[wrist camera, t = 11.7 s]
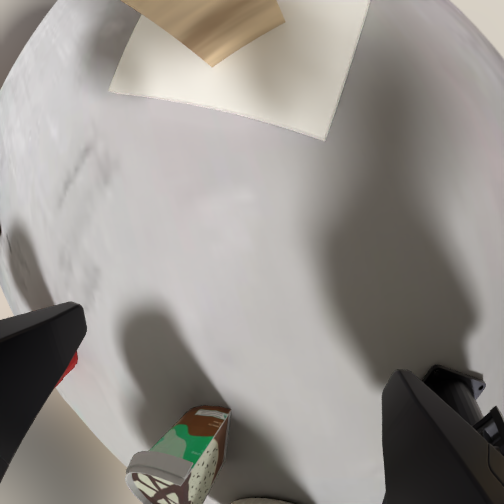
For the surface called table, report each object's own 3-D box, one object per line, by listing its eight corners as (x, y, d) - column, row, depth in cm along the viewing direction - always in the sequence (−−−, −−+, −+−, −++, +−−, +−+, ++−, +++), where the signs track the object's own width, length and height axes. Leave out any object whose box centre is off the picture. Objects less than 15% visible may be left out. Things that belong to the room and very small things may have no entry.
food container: (170, 376, 24) (105, 442, 15) (232, 398, 23) (180, 482, 13) (176, 449, 27) (133, 505, 18) (224, 467, 26) (188, 531, 16)
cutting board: (373, -11, 12) (374, -20, 11) (325, 141, 17) (324, 138, 15) (175, -27, 16) (169, -33, 15) (117, 93, 20) (108, 90, 19)
